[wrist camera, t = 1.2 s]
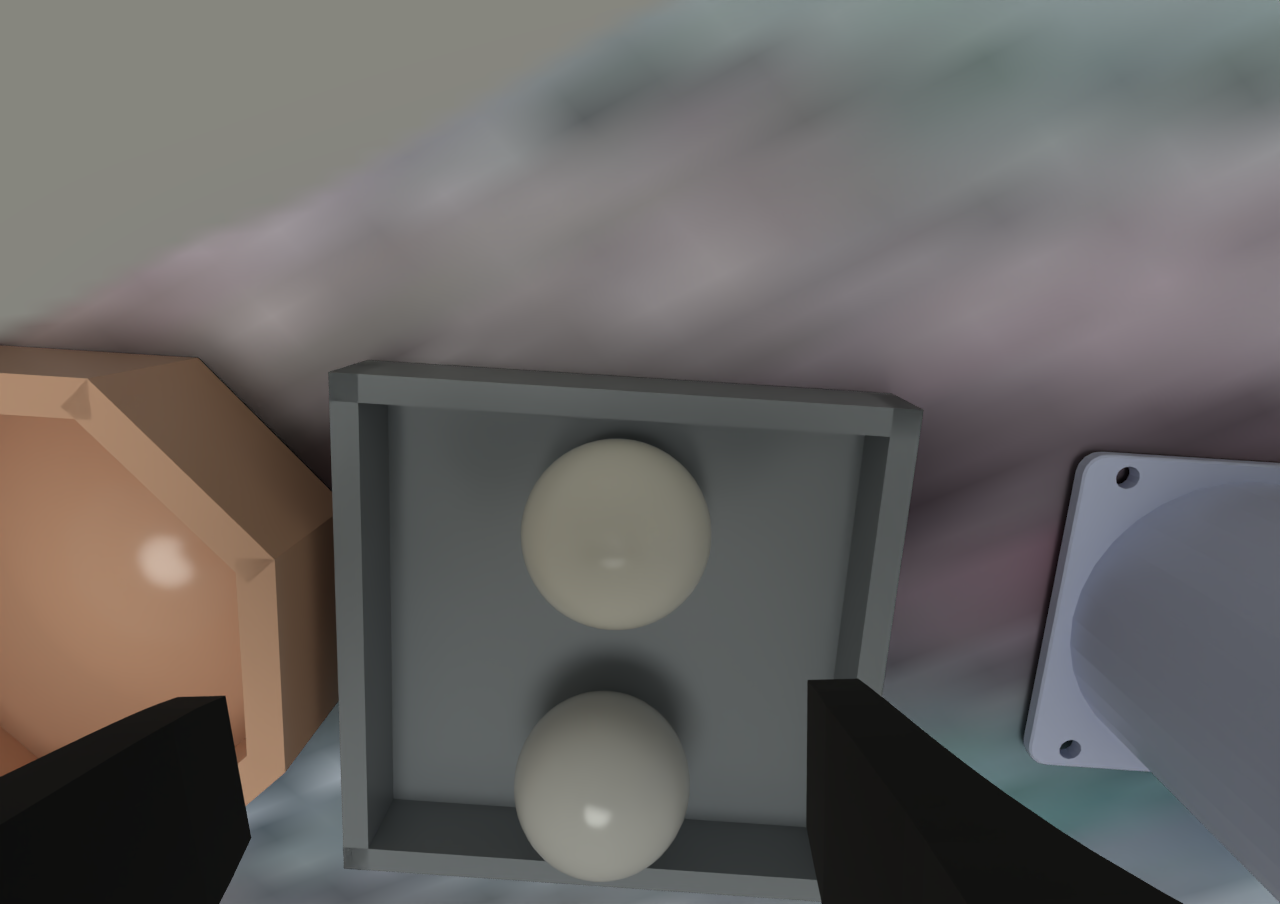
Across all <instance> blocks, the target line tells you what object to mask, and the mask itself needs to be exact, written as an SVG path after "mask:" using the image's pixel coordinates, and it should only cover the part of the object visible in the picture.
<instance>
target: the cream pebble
mask: <svg viewBox="0 0 1280 904" xmlns="http://www.w3.org/2000/svg"><path fill="white" fill-rule="evenodd" d="M521 547H522V553H523V558H524V561H525V565H526V568H527V570H528V572H529V575H530V577H531V579H532V581H533V583H534V584H535V586H536V587H537V589H538V590H539V592H540V593H541V594H542V596H543V597H544V598H545V599H546V600H547V601H548V602H549V603H550V604H551V605H552V606H553V607H554V608H555V609H556V610H558V611H559V612H561V613H562V614H563V615H565V616H566V617H568V618H570V619H572V620H574V621H576V622H578V623H581V624H584V625H586V626H590V627H594V628H598V629H605V630H627V629H635V628H639V627H643V626H646V625H649V624H651V623H654V622H656V621H658V620H660V619H662V618H664V617H666V616H667V615H668V614H670V613H671V612H673V611H674V610H675V609H676V608H678V607H679V606H680V605H681V604H682V603H683V602H684V601H685V600H686V599H687V598H688V597H689V595H690V594H691V593H692V592H693V591H694V589H695V587H696V586H697V584H698V583H699V581H700V579H701V577H702V575H703V572H704V570H705V568H706V565H707V562H708V558H709V555H710V548H711V520H710V514H709V510H708V506H707V503H706V501H705V498H704V496H703V494H702V491H701V489H700V488H699V486H698V484H697V482H696V481H695V479H694V478H693V477H692V475H691V474H690V473H689V472H688V470H687V469H686V468H685V467H684V466H683V465H682V464H681V463H680V462H679V461H677V460H676V459H675V458H673V457H672V456H671V455H669V454H668V453H666V452H664V451H662V450H660V449H659V448H657V447H654V446H652V445H649V444H647V443H643V442H640V441H636V440H629V439H604V440H597V441H594V442H590V443H586V444H583V445H581V446H578V447H576V448H574V449H572V450H570V451H569V452H567V453H565V454H563V455H562V456H561V457H560V458H558V459H557V460H556V461H554V462H553V463H552V464H551V465H550V466H549V467H548V468H547V469H546V470H545V471H544V472H543V474H542V475H541V476H540V478H539V479H538V480H537V482H536V483H535V485H534V487H533V489H532V490H531V492H530V495H529V497H528V500H527V502H526V505H525V508H524V512H523V516H522V523H521Z"/></svg>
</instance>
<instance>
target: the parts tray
mask: <svg viewBox="0 0 1280 904" xmlns="http://www.w3.org/2000/svg"><path fill="white" fill-rule="evenodd" d="M328 374H329V406H330V438H331V470H332V502H333V534H334V566H335V598H336V630H337V662H338V694H339V726H340V758H341V791H342V823H343V855H344V869H358V870H373V871H387V872H401V873H416V874H430V875H444V876H459V877H473V878H488V879H502V880H516V881H531V882H545V883H559V884H574V885H588V886H602V887H617V888H631V889H646V890H660V891H674V892H689V893H703V894H717V895H732V896H746V897H761V898H775V899H789V900H804V901H818V902H821V897H820V893H819V888H818V883H817V878H816V873H815V868H814V863H813V858H812V853H811V848H810V843H809V838H808V833H807V827H806V791H807V682H808V680H822V679H859V680H861V681H862V682H864V683H865V684H866V685H868V686H869V687H870V688H871V689H873V690H874V691H875V692H876V693H878V694H879V695H880V696H881V697H882V690H883V683H884V676H885V669H886V663H887V656H888V649H889V642H890V635H891V628H892V622H893V615H894V608H895V601H896V594H897V587H898V581H899V574H900V567H901V560H902V553H903V546H904V540H905V533H906V526H907V519H908V512H909V505H910V499H911V492H912V485H913V478H914V471H915V464H916V458H917V451H918V444H919V437H920V430H921V424H922V417H923V410H922V409H921V408H919V407H917V406H915V405H913V404H911V403H909V402H907V401H905V400H903V399H901V398H899V397H898V396H896V395H894V394H892V393H876V392H860V391H845V390H829V389H813V388H798V387H782V386H766V385H750V384H735V383H719V382H703V381H688V380H672V379H656V378H640V377H625V376H609V375H593V374H578V373H562V372H546V371H530V370H515V369H499V368H483V367H468V366H452V365H436V364H420V363H405V362H389V361H373V360H367V361H363V362H360V363H357V364H353V365H350V366H347V367H343V368H340V369H337V370H334V371H330V372H328ZM604 439H629V440H636V441H640V442H643V443H647V444H649V445H652V446H654V447H657V448H659V449H660V450H662V451H664V452H666V453H668V454H669V455H671V456H672V457H673V458H675V459H676V460H677V461H679V462H680V463H681V464H682V465H683V466H684V467H685V468H686V469H687V470H688V472H689V473H690V474H691V475H692V477H693V478H694V479H695V481H696V482H697V484H698V486H699V488H700V489H701V491H702V494H703V496H704V498H705V501H706V503H707V506H708V510H709V514H710V520H711V548H710V555H709V558H708V562H707V565H706V568H705V570H704V572H703V575H702V577H701V579H700V581H699V583H698V584H697V586H696V587H695V589H694V591H693V592H692V593H691V594H690V595H689V597H688V598H687V599H686V600H685V601H684V602H683V603H682V604H681V605H680V606H679V607H678V608H676V609H675V610H674V611H673V612H671V613H670V614H668V615H667V616H666V617H664V618H662V619H660V620H658V621H656V622H654V623H651V624H649V625H646V626H643V627H639V628H635V629H627V630H605V629H598V628H594V627H590V626H586V625H584V624H581V623H578V622H576V621H574V620H572V619H570V618H568V617H566V616H565V615H563V614H562V613H561V612H559V611H558V610H556V609H555V608H554V607H553V606H552V605H551V604H550V603H549V602H548V601H547V600H546V599H545V598H544V597H543V596H542V594H541V593H540V592H539V590H538V589H537V587H536V586H535V584H534V583H533V581H532V579H531V577H530V575H529V572H528V570H527V568H526V565H525V561H524V558H523V553H522V547H521V523H522V516H523V512H524V508H525V505H526V502H527V500H528V497H529V495H530V492H531V490H532V489H533V487H534V485H535V483H536V482H537V480H538V479H539V478H540V476H541V475H542V474H543V472H544V471H545V470H546V469H547V468H548V467H549V466H550V465H551V464H552V463H553V462H554V461H556V460H557V459H558V458H560V457H561V456H562V455H563V454H565V453H567V452H569V451H570V450H572V449H574V448H576V447H578V446H581V445H583V444H586V443H590V442H594V441H597V440H604ZM591 691H616V692H621V693H625V694H629V695H631V696H634V697H637V698H638V699H640V700H642V701H644V702H646V703H647V704H649V705H650V706H652V707H653V708H654V709H656V710H657V711H658V712H659V713H660V714H661V715H663V716H664V718H665V719H666V720H667V721H668V722H669V724H670V725H671V726H672V728H673V729H674V731H675V732H676V734H677V735H678V737H679V740H680V742H681V744H682V746H683V749H684V751H685V755H686V758H687V762H688V768H689V775H690V795H689V802H688V807H687V811H686V815H685V818H684V821H683V823H682V825H681V827H680V829H679V831H678V834H677V836H676V838H675V839H674V841H673V842H672V843H671V845H670V846H669V847H668V849H667V850H666V851H665V852H664V853H663V854H662V856H661V857H660V858H659V859H657V860H656V861H655V862H654V863H653V864H651V865H650V866H648V867H647V868H645V869H644V870H642V871H641V872H639V873H637V874H635V875H633V876H630V877H627V878H624V879H620V880H615V881H608V882H592V881H585V880H581V879H577V878H574V877H571V876H569V875H566V874H564V873H562V872H560V871H558V870H557V869H555V868H554V867H552V866H551V865H550V864H549V863H547V862H546V861H545V860H544V859H543V858H542V857H541V856H540V855H539V854H538V853H537V852H536V850H535V849H534V848H533V847H532V845H531V844H530V842H529V841H528V839H527V837H526V835H525V833H524V831H523V829H522V827H521V824H520V822H519V819H518V815H517V811H516V806H515V800H514V778H515V770H516V765H517V761H518V757H519V755H520V752H521V750H522V747H523V745H524V742H525V740H526V739H527V737H528V735H529V734H530V732H531V730H532V729H533V728H534V726H535V725H536V724H537V723H538V721H539V720H540V719H541V718H542V717H543V716H544V715H545V714H546V713H547V712H549V711H550V710H551V709H552V708H553V707H555V706H556V705H558V704H559V703H561V702H563V701H565V700H567V699H568V698H571V697H574V696H576V695H579V694H582V693H586V692H591Z"/></svg>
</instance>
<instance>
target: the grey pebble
mask: <svg viewBox="0 0 1280 904" xmlns="http://www.w3.org/2000/svg"><path fill="white" fill-rule="evenodd" d="M689 795H690V775H689V768H688V762H687V758H686V755H685V751H684V749H683V746H682V744H681V742H680V740H679V737H678V735H677V734H676V732H675V731H674V729H673V728H672V726H671V725H670V724H669V722H668V721H667V720H666V719H665V718H664V716H663V715H661V714H660V713H659V712H658V711H657V710H656V709H654V708H653V707H652V706H650V705H649V704H647V703H646V702H644V701H642V700H640V699H638V698H637V697H634V696H631V695H629V694H625V693H621V692H616V691H591V692H586V693H582V694H579V695H576V696H574V697H571V698H568V699H567V700H565V701H563V702H561V703H559V704H558V705H556V706H555V707H553V708H552V709H551V710H550V711H549V712H547V713H546V714H545V715H544V716H543V717H542V718H541V719H540V720H539V721H538V723H537V724H536V725H535V726H534V728H533V729H532V730H531V732H530V734H529V735H528V737H527V739H526V740H525V742H524V745H523V747H522V750H521V752H520V755H519V757H518V761H517V765H516V770H515V778H514V800H515V806H516V811H517V815H518V819H519V822H520V824H521V827H522V829H523V831H524V833H525V835H526V837H527V839H528V841H529V842H530V844H531V845H532V847H533V848H534V849H535V850H536V852H537V853H538V854H539V855H540V856H541V857H542V858H543V859H544V860H545V861H546V862H547V863H549V864H550V865H551V866H552V867H554V868H555V869H557V870H558V871H560V872H562V873H564V874H566V875H569V876H571V877H574V878H577V879H581V880H585V881H592V882H608V881H615V880H620V879H624V878H627V877H630V876H633V875H635V874H637V873H639V872H641V871H642V870H644V869H645V868H647V867H648V866H650V865H651V864H653V863H654V862H655V861H656V860H657V859H659V858H660V857H661V856H662V854H663V853H664V852H665V851H666V850H667V849H668V847H669V846H670V845H671V843H672V842H673V841H674V839H675V838H676V836H677V834H678V831H679V829H680V827H681V825H682V823H683V821H684V818H685V815H686V811H687V807H688V802H689Z"/></svg>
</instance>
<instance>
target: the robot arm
mask: <svg viewBox="0 0 1280 904" xmlns="http://www.w3.org/2000/svg"><path fill="white" fill-rule="evenodd" d="M1124 467H1128V468H1129V476H1128V478H1127V480H1125V481H1124V482H1123V483H1121V484H1117V483H1116V476H1117V474H1118V472H1119V471H1120V470H1121V469H1123V468H1124ZM1068 740H1073V741H1072V743H1071V745H1070V746H1069V747H1067V748H1066V749H1060V747H1061V745H1062V744H1063V743H1064V742H1066V741H1068ZM1024 747H1025V749H1026V751H1027V752H1028V753H1029V755H1030V756H1031V757H1032V759H1034V760H1035V761H1037V762H1038V763H1041V764H1045V765H1059V766H1074V767H1088V768H1103V769H1118V770H1133V771H1147V772H1152V773H1153V774H1154V775H1155V776H1156V777H1157V778H1158V779H1159V780H1160V782H1161V783H1162V784H1163V785H1164V786H1165V787H1166V788H1167V789H1168V790H1169V791H1170V792H1171V793H1172V794H1173V795H1174V796H1175V797H1176V798H1177V799H1178V800H1179V801H1180V802H1181V803H1182V804H1183V805H1184V806H1185V807H1186V808H1187V809H1188V810H1189V811H1190V812H1191V813H1192V814H1193V815H1194V816H1195V817H1196V818H1197V819H1198V820H1199V821H1200V822H1201V823H1202V824H1203V825H1204V826H1205V827H1206V828H1207V829H1208V830H1209V831H1210V832H1211V833H1212V834H1213V835H1214V836H1215V837H1216V838H1217V839H1218V840H1219V841H1220V842H1221V843H1222V844H1223V845H1224V846H1225V848H1226V849H1227V850H1228V851H1229V852H1230V853H1231V854H1232V855H1233V856H1234V857H1235V858H1236V859H1237V860H1238V861H1239V862H1240V863H1241V864H1242V865H1243V866H1244V867H1245V868H1246V869H1247V870H1248V871H1249V872H1250V873H1251V874H1252V875H1253V876H1254V877H1255V878H1256V879H1257V880H1258V881H1259V882H1260V883H1261V884H1262V885H1263V886H1264V887H1265V888H1266V889H1267V890H1268V891H1269V892H1270V893H1271V894H1272V895H1273V896H1274V897H1275V898H1276V899H1277V900H1278V901H1279V902H1280V463H1272V462H1257V461H1241V460H1226V459H1210V458H1195V457H1179V456H1163V455H1148V454H1132V453H1117V452H1094V453H1091V454H1089V455H1087V456H1085V457H1084V458H1083V459H1082V461H1081V462H1080V463H1079V465H1078V467H1077V469H1076V473H1075V478H1074V483H1073V488H1072V493H1071V498H1070V503H1069V509H1068V514H1067V519H1066V524H1065V529H1064V534H1063V539H1062V544H1061V549H1060V555H1059V560H1058V565H1057V570H1056V575H1055V580H1054V585H1053V590H1052V595H1051V601H1050V606H1049V611H1048V616H1047V621H1046V626H1045V631H1044V636H1043V641H1042V647H1041V652H1040V657H1039V662H1038V667H1037V672H1036V677H1035V682H1034V688H1033V693H1032V698H1031V703H1030V708H1029V713H1028V718H1027V723H1026V728H1025V734H1024ZM806 827H807V833H808V838H809V843H810V848H811V853H812V858H813V863H814V868H815V873H816V878H817V883H818V888H819V893H820V897H821V902H822V904H1183V903H1181V902H1179V901H1177V900H1176V899H1174V898H1172V897H1170V896H1168V895H1167V894H1165V893H1163V892H1161V891H1160V890H1158V889H1156V888H1154V887H1153V886H1151V885H1149V884H1148V883H1146V882H1144V881H1143V880H1141V879H1139V878H1137V877H1136V876H1134V875H1132V874H1131V873H1129V872H1127V871H1126V870H1124V869H1122V868H1120V867H1119V866H1117V865H1115V864H1114V863H1112V862H1110V861H1109V860H1107V859H1105V858H1103V857H1102V856H1100V855H1098V854H1097V853H1095V852H1093V851H1092V850H1090V849H1088V848H1087V847H1085V846H1084V845H1082V844H1081V843H1079V842H1077V841H1076V840H1074V839H1073V838H1071V837H1070V836H1068V835H1066V834H1065V833H1063V832H1062V831H1060V830H1059V829H1057V828H1056V827H1054V826H1053V825H1051V824H1050V823H1048V822H1047V821H1045V820H1044V819H1042V818H1041V817H1040V816H1038V815H1037V814H1035V813H1034V812H1032V811H1031V810H1029V809H1028V808H1026V807H1025V806H1023V805H1022V804H1021V803H1019V802H1018V801H1016V800H1015V799H1013V798H1012V797H1010V796H1009V795H1007V794H1006V793H1005V792H1003V791H1002V790H1000V789H999V788H998V787H996V786H995V785H994V784H992V783H991V782H989V781H988V780H987V779H985V778H984V777H983V776H981V775H980V774H979V773H977V772H976V771H975V770H973V769H972V768H971V767H969V766H968V765H967V764H965V763H964V762H963V761H961V760H960V759H959V758H957V757H956V756H955V755H954V754H952V753H951V752H950V751H948V750H947V749H946V748H944V747H943V746H942V745H941V744H939V743H938V742H937V741H936V740H934V739H933V738H932V737H931V736H929V735H928V734H927V733H926V732H924V731H923V730H922V729H921V728H919V727H918V726H917V725H916V724H914V723H913V722H912V721H911V720H910V719H908V718H907V717H906V716H905V715H903V714H902V713H901V712H900V711H898V710H897V709H896V708H895V707H894V706H892V705H891V704H890V703H889V702H887V701H886V700H885V699H884V698H883V697H881V696H880V695H879V694H878V693H876V692H875V691H874V690H873V689H871V688H870V687H869V686H868V685H866V684H865V683H864V682H862V681H861V680H859V679H822V680H808V682H807V791H806ZM250 839H251V835H250V829H249V824H248V818H247V812H246V807H245V801H244V796H243V790H242V785H241V779H240V774H239V768H238V762H237V757H236V751H235V746H234V740H233V735H232V729H231V723H230V718H229V712H228V707H227V701H226V696H194V697H176V698H173V699H170V700H168V701H165V702H162V703H159V704H156V705H154V706H151V707H149V708H146V709H144V710H142V711H139V712H137V713H135V714H132V715H130V716H128V717H125V718H123V719H121V720H119V721H116V722H114V723H112V724H110V725H108V726H106V727H103V728H101V729H99V730H97V731H95V732H93V733H91V734H88V735H86V736H84V737H82V738H80V739H78V740H76V741H74V742H72V743H70V744H68V745H65V746H63V747H61V748H59V749H57V750H55V751H53V752H51V753H49V754H47V755H45V756H42V757H40V758H38V759H36V760H34V761H32V762H30V763H28V764H26V765H24V766H22V767H20V768H18V769H15V770H13V771H11V772H9V773H7V774H5V775H3V776H1V777H0V904H219V903H220V901H221V899H222V897H223V895H224V893H225V891H226V889H227V887H228V886H229V884H230V882H231V879H232V877H233V875H234V873H235V871H236V869H237V867H238V865H239V863H240V860H241V858H242V856H243V854H244V852H245V850H246V848H247V846H248V843H249V841H250Z"/></svg>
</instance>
